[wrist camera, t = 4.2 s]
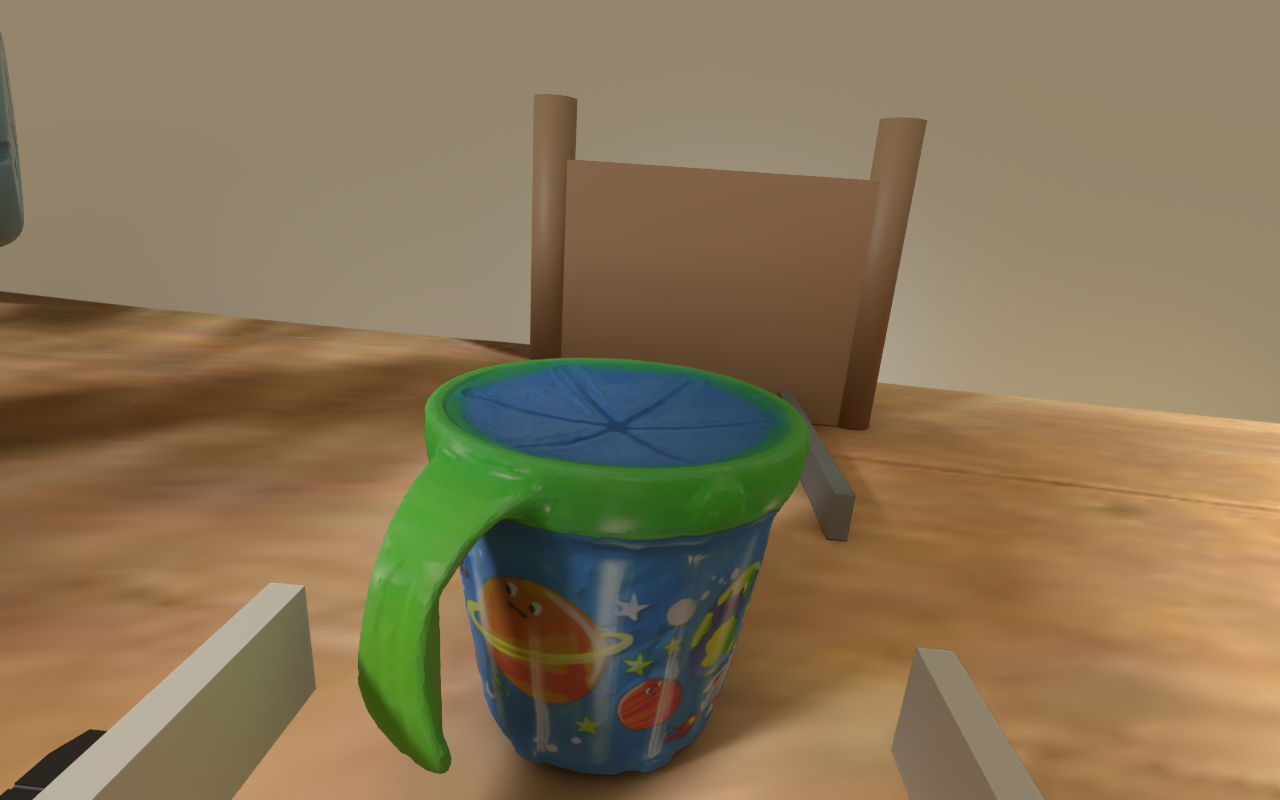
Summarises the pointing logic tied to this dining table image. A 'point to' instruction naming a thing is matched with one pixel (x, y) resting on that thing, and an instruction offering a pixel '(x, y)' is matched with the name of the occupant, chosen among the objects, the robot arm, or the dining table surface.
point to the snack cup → (580, 555)
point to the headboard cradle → (726, 275)
